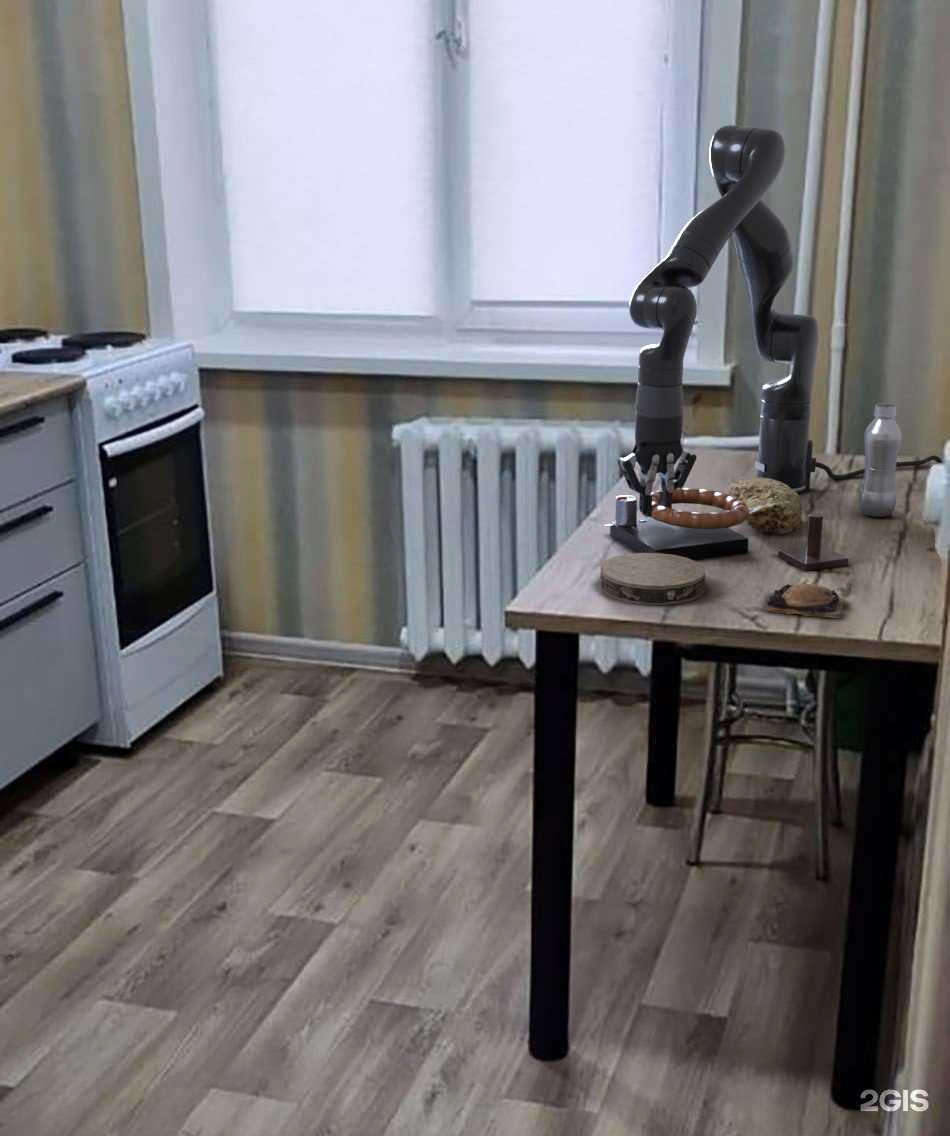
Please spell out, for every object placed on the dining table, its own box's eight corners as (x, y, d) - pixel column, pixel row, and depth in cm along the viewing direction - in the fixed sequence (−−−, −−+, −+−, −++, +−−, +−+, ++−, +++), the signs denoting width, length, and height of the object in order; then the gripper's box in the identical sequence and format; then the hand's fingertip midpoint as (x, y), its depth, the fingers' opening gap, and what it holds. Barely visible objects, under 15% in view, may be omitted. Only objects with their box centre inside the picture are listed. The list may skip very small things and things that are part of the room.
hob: (692, 522, 242) (693, 507, 241) (747, 552, 225) (748, 537, 224) (595, 533, 236) (595, 519, 235) (644, 566, 219) (645, 550, 218)
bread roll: (845, 602, 202) (847, 579, 201) (838, 621, 195) (840, 597, 194) (773, 593, 206) (775, 570, 205) (763, 612, 198) (765, 588, 197)
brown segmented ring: (714, 498, 237) (715, 484, 236) (767, 526, 222) (769, 511, 221) (624, 504, 231) (625, 489, 231) (672, 534, 216) (674, 518, 215)
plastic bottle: (895, 511, 247) (905, 402, 240) (893, 522, 241) (904, 410, 234) (858, 508, 249) (868, 400, 242) (856, 519, 243) (865, 408, 236)
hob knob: (630, 519, 235) (631, 492, 233) (640, 525, 231) (641, 497, 230) (611, 521, 234) (612, 494, 232) (620, 527, 230) (621, 499, 229)
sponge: (805, 543, 233) (806, 490, 250) (799, 503, 229) (800, 452, 246) (727, 551, 237) (733, 499, 254) (721, 512, 233) (727, 461, 250)
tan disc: (707, 574, 215) (708, 556, 214) (700, 608, 200) (701, 589, 199) (607, 567, 218) (607, 549, 217) (592, 601, 203) (593, 582, 202)
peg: (819, 551, 225) (823, 506, 223) (848, 565, 218) (852, 519, 216) (777, 556, 223) (780, 511, 220) (805, 571, 216) (808, 524, 213)
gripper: (630, 419, 213) (627, 525, 218) (709, 412, 217) (704, 516, 223) (609, 409, 220) (606, 513, 225) (686, 403, 224) (682, 504, 230)
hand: (655, 514), depth 224 cm, fingers closed on brown segmented ring, 2 cm apart
